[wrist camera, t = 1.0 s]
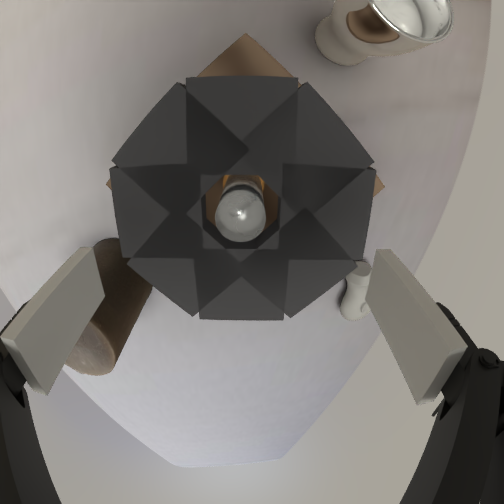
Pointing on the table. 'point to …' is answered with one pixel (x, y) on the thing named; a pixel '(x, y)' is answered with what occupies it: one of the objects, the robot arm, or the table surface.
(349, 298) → the smooth white sculpture
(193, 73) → the table surface
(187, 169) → the dark grey faceted disc
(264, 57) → the walnut base
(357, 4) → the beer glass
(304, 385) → the table surface
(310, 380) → the table surface
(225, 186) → the steel post
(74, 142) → the table surface
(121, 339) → the pillar candle
